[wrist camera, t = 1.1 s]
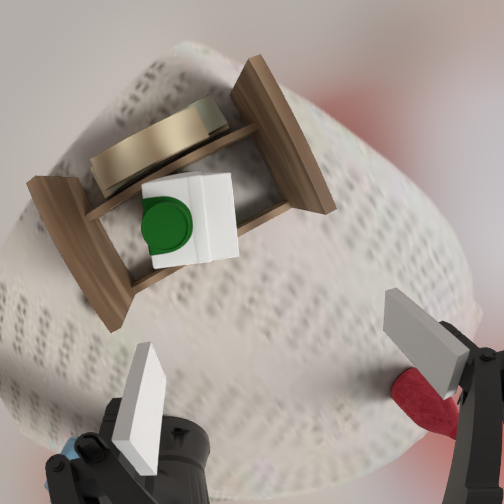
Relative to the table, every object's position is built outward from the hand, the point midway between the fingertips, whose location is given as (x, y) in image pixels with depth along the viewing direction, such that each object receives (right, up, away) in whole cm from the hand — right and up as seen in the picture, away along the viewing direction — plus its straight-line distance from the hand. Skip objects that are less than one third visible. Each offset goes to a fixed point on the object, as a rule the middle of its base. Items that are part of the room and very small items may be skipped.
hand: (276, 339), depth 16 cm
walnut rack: (-12, +14, +26) cm, 32 cm away
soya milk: (-10, +11, +27) cm, 31 cm away
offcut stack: (-15, +20, +25) cm, 35 cm away
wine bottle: (+35, -27, +45) cm, 63 cm away
